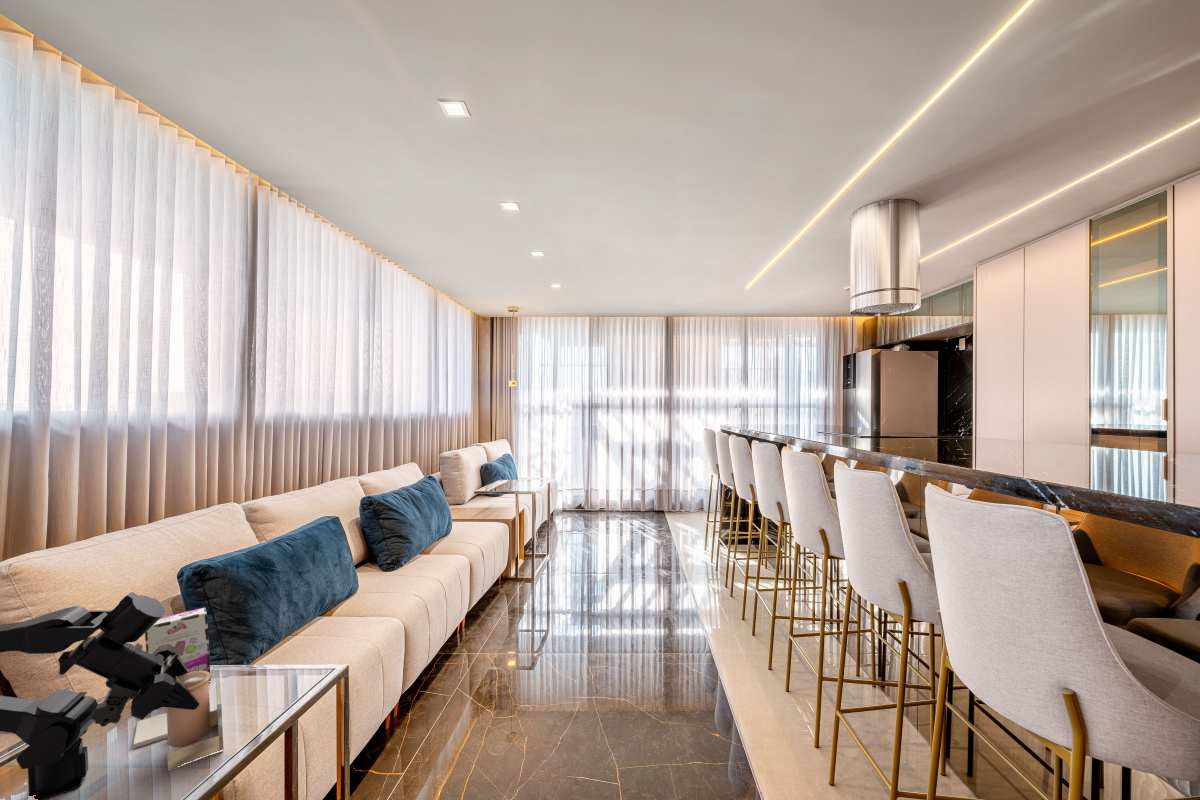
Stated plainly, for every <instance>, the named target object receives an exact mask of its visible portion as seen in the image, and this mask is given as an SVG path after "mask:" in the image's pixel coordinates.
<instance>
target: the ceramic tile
mask: <svg viewBox="0 0 1200 800" xmlns="http://www.w3.org/2000/svg"><path fill="white" fill-rule="evenodd" d="M133 739H134V740H133V747H132V748H133V749H136V748H140V747H143V746H146V745H149V744H152V743H154V742H158V741H160V740H164V739H168V734H167V713H166V712H165V713H161V714H159V715H154V716H150V717H149V718H144V719H143V720H138V721H137V724H136V729H135V732H134V738H133Z"/></svg>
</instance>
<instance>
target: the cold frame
mask: <svg viewBox="0 0 1200 800" xmlns="http://www.w3.org/2000/svg"><path fill="white" fill-rule="evenodd" d="M220 679H221V678H220V677H217V678H215V690H216V692H215V693H216V708H214V709H213V708H212V709H210V724H211V728H212V727H214V726H217V731H218V732H217V733H218V735H217V736H213V737H211V738H208V739H205V740H202V741H201V740H200V741H197V742H195V743H193V744H190V745H187V746H183V747H179V748H178V749H175V750H171V751H169V752H167V771H168V772H170V770H171V771H173V770H176V769H178V768H177V767H178V766H181V765H182V764H184V763H187V762H190V761H193V760H195V759H197V758H200V757H203V756H206V755H209V754H211V753H214V752H217V751H220V750H222V749H223V750H224V732H223V731H224V729H223V710H222V709H223V708H222V705H223V704H222V692H221V682H220V681H221V680H220ZM175 768H176V769H175Z"/></svg>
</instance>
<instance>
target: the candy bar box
mask: <svg viewBox="0 0 1200 800" xmlns="http://www.w3.org/2000/svg"><path fill="white" fill-rule="evenodd" d="M208 625H209V624H208V613H207V609H206V607H202V608H201V607H200V608H196V609H193V610H188V611H184V612H180V613H176V614H172V615H167V616H162V617H161V618H160V619H159V620H158V621H157V622H156V623H155V624H154V625H153V626H152V627H151V628H150V629H149V630H148V631H147V632H145V633H144V638H145V639H144V640H145V651H146V652H148V653H150V654H152V653H153V652H154V651H155V650H156V649H157V648H158V647H159V646H160V645H165V644H170V645H172V646H174V647H176V648H177V650H176V654H175V655H174V656H172V655H170V656H169V657H168V658H167V659H169V660H172V659H173V658H174V657H175V656H176V655H177V654H179V656H180V658H181V660H182V661H183V663H184V665H185V666H186V668H187V670H188V671H189V673H190V672H196V671H207V672H209V673H210V680H209V681H212V680H211V679H212V677H211V657H210V644H209V643H210V641H209V628H208V627H209V626H208ZM167 659H166V660H167ZM166 660H165V661H166Z"/></svg>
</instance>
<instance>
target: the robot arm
mask: <svg viewBox="0 0 1200 800" xmlns="http://www.w3.org/2000/svg"><path fill="white" fill-rule="evenodd" d="M165 614H166V609H165V606H164V605H163V604H162V602H160V601H159V600H158V599H156V598H154V597H150V596H148V595H143V594H142V595H141V594H140V595H139V594H137V593H136V592H133V591H132V592H130V593H128V594H127V595H126V596H124V597H123V598H122V599H121V600H120V601H119V603H118V604H117V605H116V606H115V607H114V608H113V609H112V610H88V609H86V607H85V606H80V605H79V606H77V605H75V606H74V605H73V606H70V607H66V608H62V609H59V610H58V609H57V610H55V611H51V612H48V613H44V614H42V615H40V616H36V617H34V618H30V619H28V620H23V621H19V622H12V623H11V622H10V623H4V624H0V654H1V653H6V652H19V653H20V652H21V653H25V654H28V655H41V654H42V655H45V654H47V655H49V654H58V653H61V652H62V653H61V655H60V656H59V657H58V659H57V661H58V663H59V664H58V665H59V669H58V670H59V671H58V674H59V675H62V676H63V675H65V674H66V673H67V672H68V671H69V670H71V669H72V667H74V666H78V667H80V668H81V669H84V670H85V671H86V670H87V671H88V672H90V673H92V674H95V675H97V676H100V677H101V678H104V679H106V680H105V687H107V688H109V690H108V691H107V694H106V696H105V697H104V700H103V702H102V703H100V704H99V703H98V701H97V699H96V698H95V697H94V696H90V695H86V694H87V693H88V691H81V692H78V691H77V692H75V691H71V690H69V689H62V688H61V689H60V688H59V689H57V690H56V691H54V692H53V693H52V694H51V695H50V696H49V697H48V698H44V699H39V700H37V699H36V700H34V699H27V698H20V697H14V696H13V697H12V696H5V695H0V732H1V733H10V734H14V735H15V736H17V737H18V738H19V739H20V740H21V741H23V742H24V743H25V744H26V745H27V747H26V748H25V749H24V750H23V751H22V752H21V753H20V754H19V755H18V756H17V757H16V758H15V759H16V760H15V761H16V763H17V764H18V765H19V767H20V769H22V770H26V769H27V780H28V781H27V783H28V795H29V796H33V795H36V796H34V798H35V799H38V800H46V799H49V798H51V797H55V796H57V795H60V794H62V793H67V792H69V791H73V790H75V789H77V788H79V787H81V786H82V784H83V783H82V782H83V779H84V778H85V777H87V775H88V774H87V773H88V771H89V755H88V751H89V750H88V746H87V745H84V744H83V743H84V742H83V738H82V736H84V735H86V733H87V732H88V729H89V727H90V726H91V725H92V724H93V723H94V722H95V723H94V724H95V725H96V724H97V725H98V724H99V725H100V727H102V728H103V727H106V726H108V725H110V724H118V723H119V721H121V718H122V713H123V710H124V709H125V707H126V705H127V702H128V700H129V699H131V700H132V701H131V705H130V716H132V717H133V718H136V719H138V720H139V721H141V720H144V719H146V717H147V716H149V714H152V713H153V712H154V711H157V710H160V709H161V708H166V707H171V708H181V709H191V710H195V709H196V708H197V707H198V706H199V702H198V701H197V700H196V698H195V697H194V696H193V695H192V694H191V692H190V691H189V690H188V689H187V688H186V686H185V685H184V684H183V683H182V681H181V680H180V679H179V678H178V676H180V675H183V674H187V673H189V671H188V670H187V668H186V666H185V665H184V663H183V661H182V660H181V658H180V656H179V654H177V655H176V656H175V657H174V658H173V659H172V660H169V659H167V658H168V657H169V656H170V655H172V656H174V655H175V654H176V650H177V648H176V647H174V646H172V645H170V644H165V645H160V646H159V647H158V648H157V649H156V650H155V651H154V652H153V653H152V654H150V653H148V652H146V650H143V647H144V646H143V645H142V644H140V643H138V642H137V641H138V640H140V638H141V637H143V636H144V635H145V632H147V631H148V630H149V629H150V628H151V627H152V626H153V625H154V624H155V623H156V622H157V621H158V620H159V619H160V618H163V617H164V616H165ZM99 630H101V631H100V632H99V633H98V634H96V635H93V634H95V633H96V632H98V631H99ZM78 642H81V643H79V644H78V645H77V646H76V647H75V648H74V649H71V650H68V651H65V650H67V649H69V648H70V647H71V646H72V645H74V644H75V643H78ZM135 642H137V643H136V644H135V645H134V644H131V643H135ZM166 659H167V660H166ZM165 660H166V661H165Z"/></svg>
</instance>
